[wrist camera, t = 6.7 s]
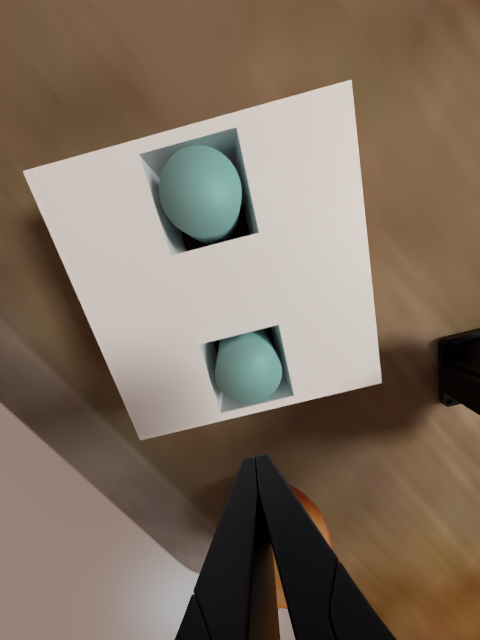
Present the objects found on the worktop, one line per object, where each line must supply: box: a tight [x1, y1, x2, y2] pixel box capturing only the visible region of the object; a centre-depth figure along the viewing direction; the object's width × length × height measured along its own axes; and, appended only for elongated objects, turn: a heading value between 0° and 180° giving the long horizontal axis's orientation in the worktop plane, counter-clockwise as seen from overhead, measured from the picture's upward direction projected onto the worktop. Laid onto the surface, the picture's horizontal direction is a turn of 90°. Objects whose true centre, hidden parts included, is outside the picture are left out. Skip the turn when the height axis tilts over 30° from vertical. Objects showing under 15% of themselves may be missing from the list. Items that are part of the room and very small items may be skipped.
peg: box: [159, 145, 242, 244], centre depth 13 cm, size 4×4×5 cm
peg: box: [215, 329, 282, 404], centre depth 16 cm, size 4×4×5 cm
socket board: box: [23, 80, 382, 440], centre depth 15 cm, size 16×16×5 cm
